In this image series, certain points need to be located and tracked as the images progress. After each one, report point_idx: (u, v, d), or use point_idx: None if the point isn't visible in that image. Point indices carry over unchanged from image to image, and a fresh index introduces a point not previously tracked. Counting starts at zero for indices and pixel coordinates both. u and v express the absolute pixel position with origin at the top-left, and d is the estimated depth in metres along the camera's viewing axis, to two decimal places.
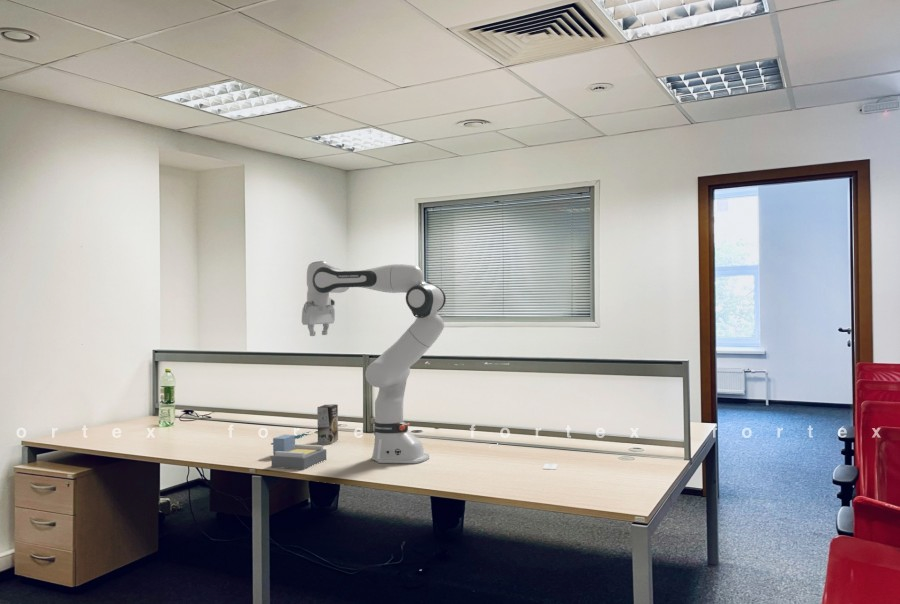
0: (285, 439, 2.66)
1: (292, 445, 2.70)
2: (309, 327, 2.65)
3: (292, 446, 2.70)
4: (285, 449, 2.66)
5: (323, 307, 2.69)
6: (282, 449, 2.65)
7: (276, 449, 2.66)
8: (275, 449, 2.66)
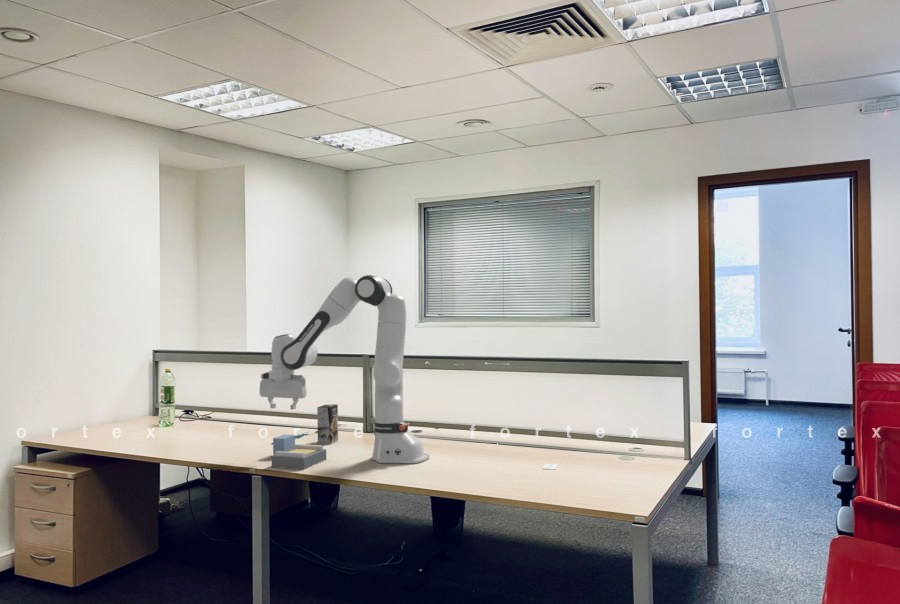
0: (285, 439, 2.66)
1: (292, 445, 2.70)
2: (296, 400, 2.67)
3: (292, 446, 2.70)
4: (285, 449, 2.66)
5: None
6: (282, 449, 2.65)
7: (276, 449, 2.66)
8: (275, 449, 2.66)
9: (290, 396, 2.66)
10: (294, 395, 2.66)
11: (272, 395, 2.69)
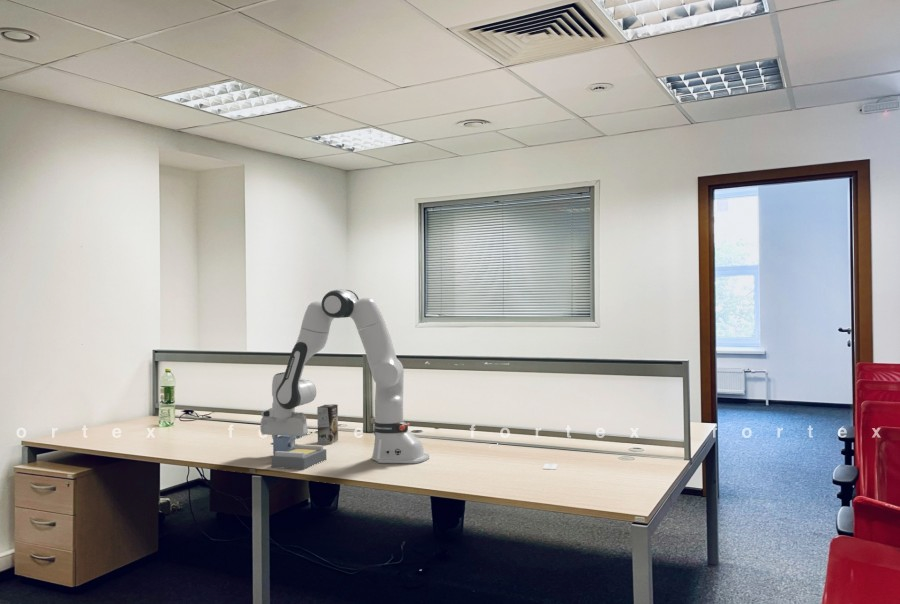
0: (285, 439, 2.66)
1: None
2: (294, 438, 2.67)
3: None
4: (285, 449, 2.66)
5: None
6: (282, 449, 2.65)
7: (276, 449, 2.66)
8: (275, 449, 2.66)
9: (291, 434, 2.66)
10: (295, 432, 2.65)
11: (273, 433, 2.69)
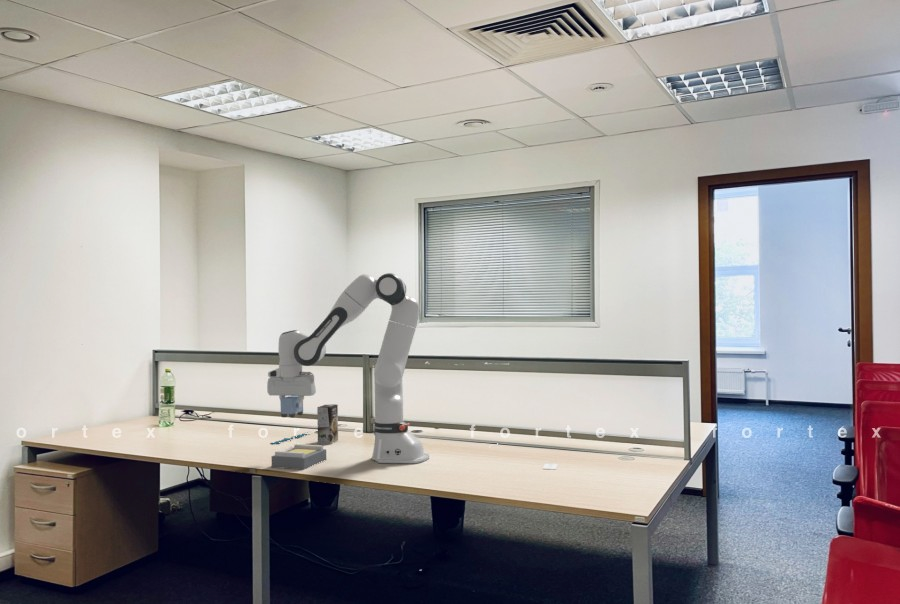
0: (293, 399, 2.58)
1: None
2: (302, 398, 2.60)
3: (300, 407, 2.63)
4: (293, 409, 2.58)
5: None
6: (290, 409, 2.57)
7: (284, 409, 2.58)
8: (283, 409, 2.58)
9: (299, 394, 2.58)
10: (302, 392, 2.58)
11: (280, 393, 2.61)
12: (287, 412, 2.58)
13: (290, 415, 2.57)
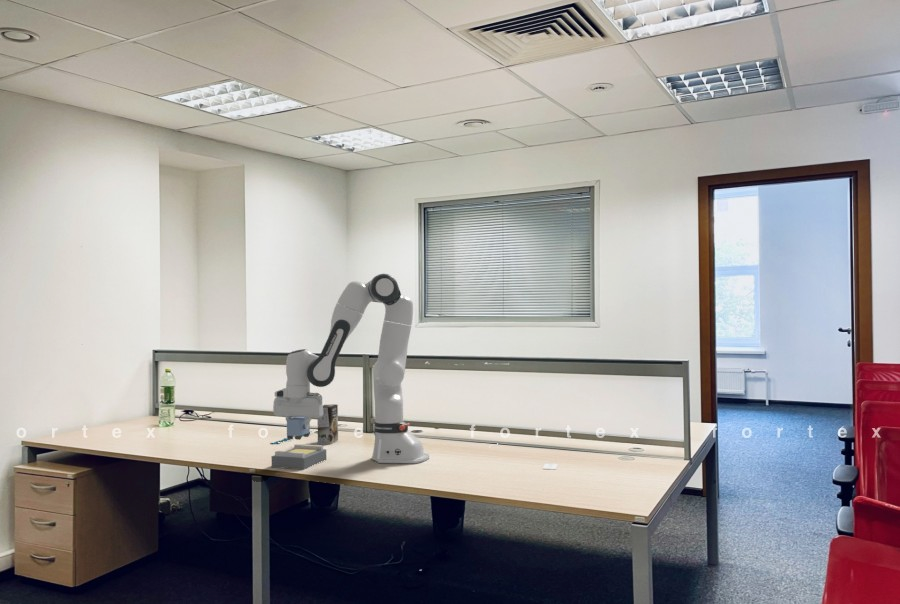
0: (299, 421, 2.51)
1: None
2: (309, 420, 2.52)
3: None
4: (300, 431, 2.51)
5: None
6: (296, 431, 2.50)
7: (290, 431, 2.51)
8: (289, 431, 2.51)
9: (306, 415, 2.51)
10: (310, 414, 2.50)
11: (287, 414, 2.54)
12: (293, 434, 2.50)
13: (296, 437, 2.50)
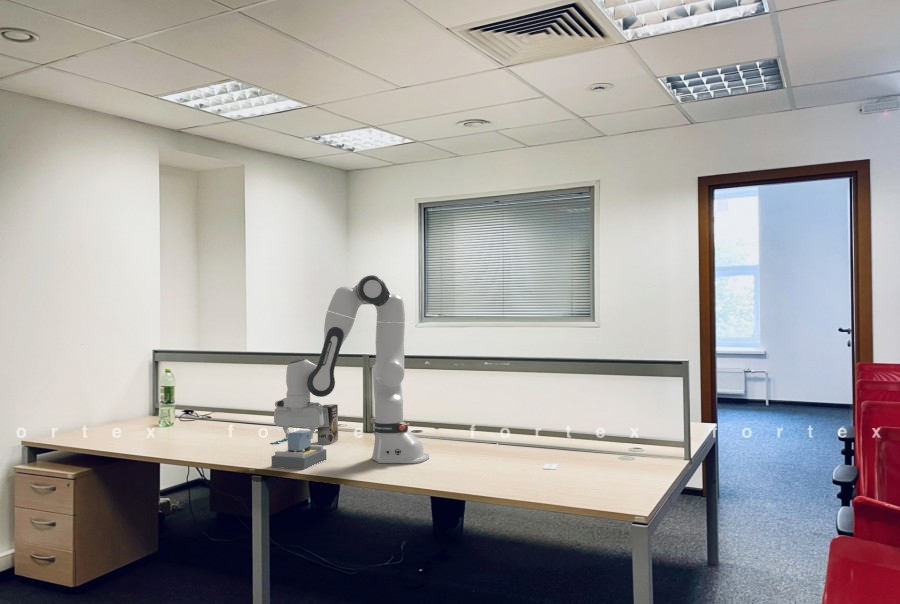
0: (300, 435, 2.51)
1: (307, 441, 2.55)
2: (313, 429, 2.52)
3: (307, 442, 2.55)
4: (301, 445, 2.51)
5: None
6: (297, 445, 2.50)
7: (291, 445, 2.51)
8: (290, 445, 2.51)
9: (307, 425, 2.51)
10: (310, 423, 2.50)
11: (287, 424, 2.54)
12: (294, 448, 2.50)
13: (297, 451, 2.50)
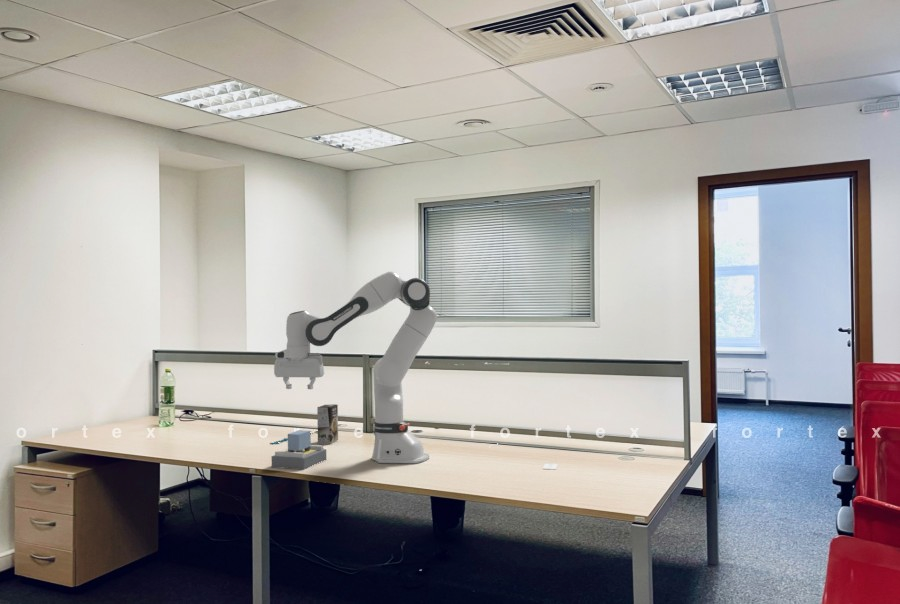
0: (300, 435, 2.51)
1: (307, 441, 2.55)
2: (313, 380, 2.54)
3: (307, 442, 2.55)
4: (301, 445, 2.51)
5: None
6: (297, 445, 2.50)
7: (291, 445, 2.51)
8: (290, 445, 2.51)
9: (307, 375, 2.54)
10: (311, 373, 2.53)
11: (288, 375, 2.56)
12: (294, 448, 2.50)
13: (297, 451, 2.50)
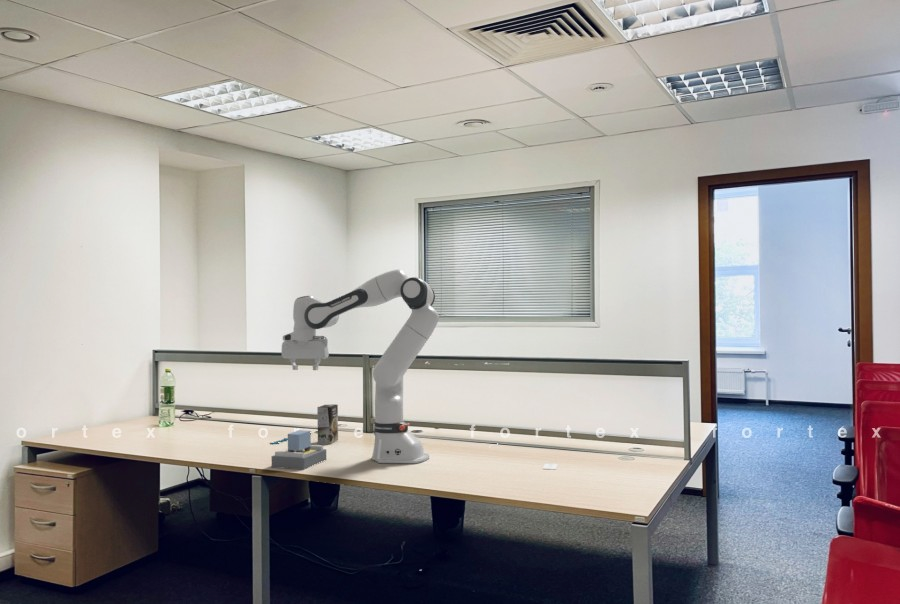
0: (300, 435, 2.51)
1: (307, 441, 2.55)
2: (318, 361, 2.68)
3: (307, 442, 2.55)
4: (301, 445, 2.51)
5: None
6: (297, 445, 2.50)
7: (291, 445, 2.51)
8: (290, 445, 2.51)
9: (312, 357, 2.67)
10: (316, 355, 2.67)
11: (294, 356, 2.70)
12: (294, 448, 2.50)
13: (297, 451, 2.50)
